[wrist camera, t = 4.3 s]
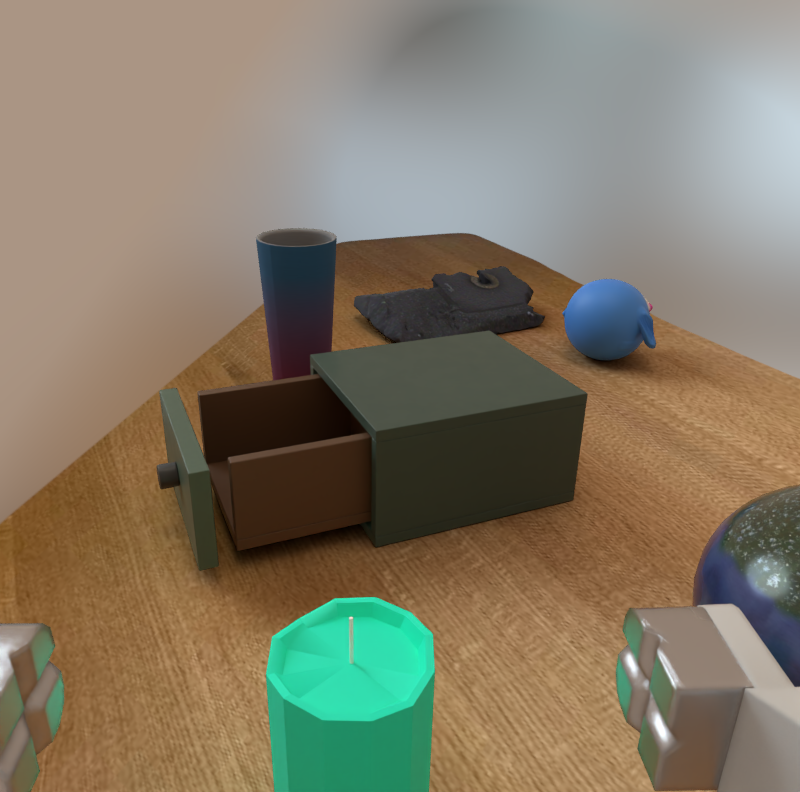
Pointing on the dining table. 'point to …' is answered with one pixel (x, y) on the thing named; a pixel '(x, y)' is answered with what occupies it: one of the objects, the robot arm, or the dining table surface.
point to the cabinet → (457, 430)
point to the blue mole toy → (608, 320)
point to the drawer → (266, 463)
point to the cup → (297, 296)
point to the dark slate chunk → (453, 307)
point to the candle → (351, 700)
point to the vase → (759, 572)
